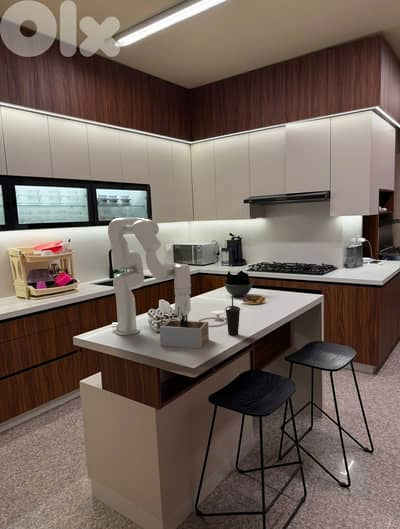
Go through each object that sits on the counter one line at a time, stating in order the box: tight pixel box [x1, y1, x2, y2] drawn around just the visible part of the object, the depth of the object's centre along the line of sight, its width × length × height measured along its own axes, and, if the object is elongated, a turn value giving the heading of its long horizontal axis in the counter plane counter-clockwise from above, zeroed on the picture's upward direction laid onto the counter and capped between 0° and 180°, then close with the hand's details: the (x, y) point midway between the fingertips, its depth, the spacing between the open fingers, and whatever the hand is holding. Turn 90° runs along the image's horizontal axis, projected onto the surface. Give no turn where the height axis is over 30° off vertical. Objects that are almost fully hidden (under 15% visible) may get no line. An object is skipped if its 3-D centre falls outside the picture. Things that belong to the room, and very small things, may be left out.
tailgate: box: [159, 325, 203, 349], centre depth 170 cm, size 20×1×9 cm, turn 73°
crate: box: [161, 319, 210, 348], centre depth 176 cm, size 20×11×9 cm, turn 73°
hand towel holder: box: [196, 309, 227, 328], centre depth 209 cm, size 17×4×21 cm
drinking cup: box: [224, 295, 241, 337], centre depth 184 cm, size 8×8×20 cm
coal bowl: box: [224, 270, 253, 298], centre depth 270 cm, size 20×20×19 cm
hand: (184, 328), depth 174 cm, fingers closed
